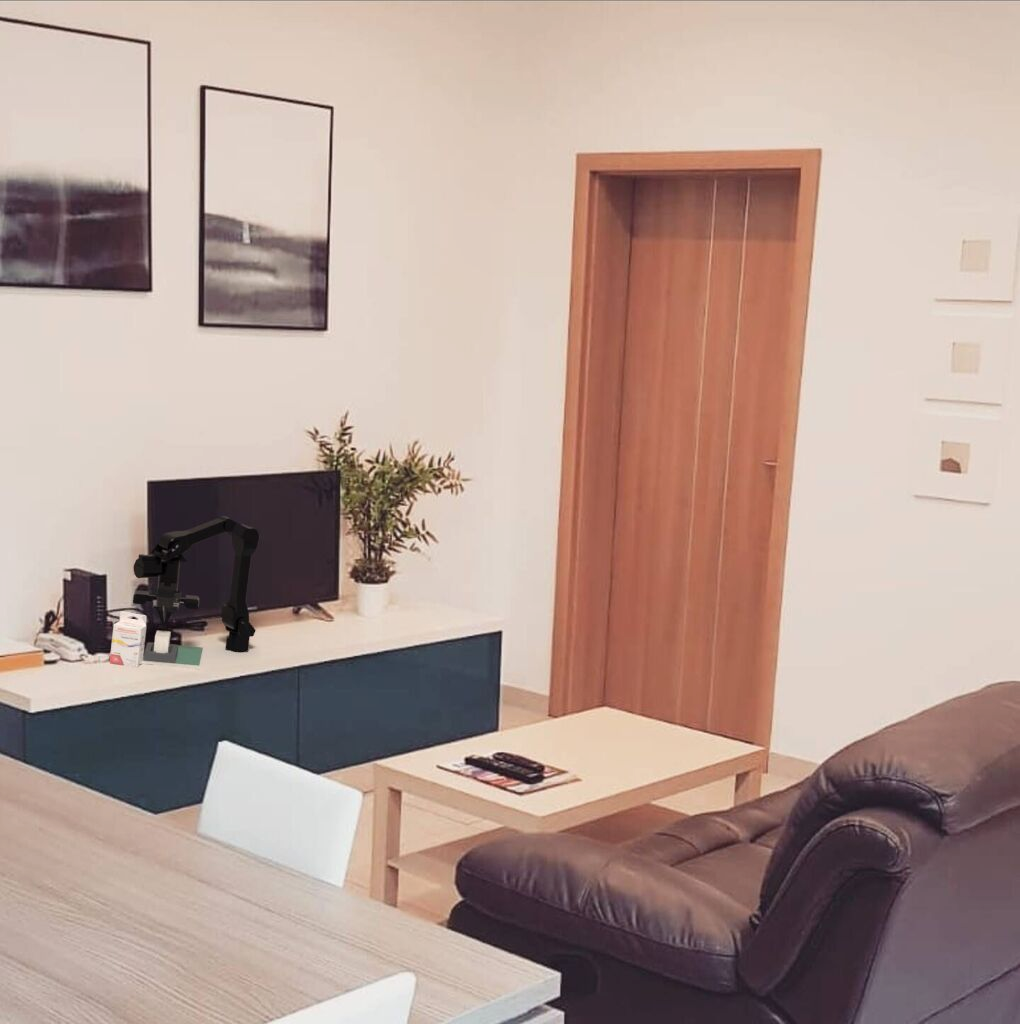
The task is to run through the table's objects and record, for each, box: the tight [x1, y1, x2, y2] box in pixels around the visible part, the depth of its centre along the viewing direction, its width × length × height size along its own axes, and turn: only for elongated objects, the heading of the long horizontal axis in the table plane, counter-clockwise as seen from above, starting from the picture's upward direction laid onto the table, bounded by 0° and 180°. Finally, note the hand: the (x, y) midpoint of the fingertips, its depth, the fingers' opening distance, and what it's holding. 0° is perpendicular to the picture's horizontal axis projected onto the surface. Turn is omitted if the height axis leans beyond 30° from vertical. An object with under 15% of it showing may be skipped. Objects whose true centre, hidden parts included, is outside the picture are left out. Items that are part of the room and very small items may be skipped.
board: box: [143, 642, 204, 667], centre depth 457 cm, size 16×20×4 cm
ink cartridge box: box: [109, 610, 148, 668], centre depth 443 cm, size 9×5×15 cm, turn 85°
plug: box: [153, 630, 171, 653], centre depth 451 cm, size 4×7×7 cm, turn 8°
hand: (163, 628), depth 451 cm, fingers closed
